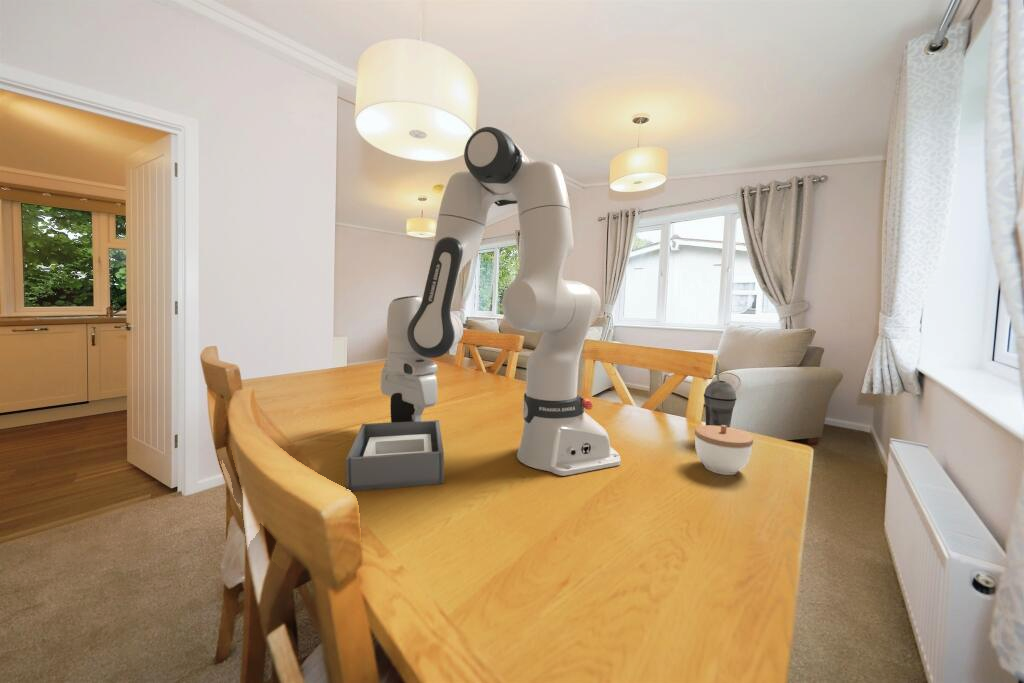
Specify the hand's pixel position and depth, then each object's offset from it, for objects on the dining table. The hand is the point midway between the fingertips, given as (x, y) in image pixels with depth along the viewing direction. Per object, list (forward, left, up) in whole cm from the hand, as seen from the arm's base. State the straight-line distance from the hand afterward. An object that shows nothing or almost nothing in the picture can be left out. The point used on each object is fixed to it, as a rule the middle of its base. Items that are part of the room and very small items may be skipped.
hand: (407, 417), depth 97 cm
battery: (0, -1, -5) cm, 5 cm away
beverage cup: (-76, +17, -5) cm, 78 cm away
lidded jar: (-65, +31, -5) cm, 72 cm away
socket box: (+1, +17, -5) cm, 17 cm away
